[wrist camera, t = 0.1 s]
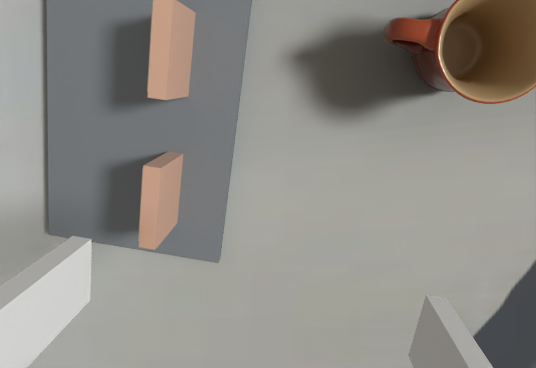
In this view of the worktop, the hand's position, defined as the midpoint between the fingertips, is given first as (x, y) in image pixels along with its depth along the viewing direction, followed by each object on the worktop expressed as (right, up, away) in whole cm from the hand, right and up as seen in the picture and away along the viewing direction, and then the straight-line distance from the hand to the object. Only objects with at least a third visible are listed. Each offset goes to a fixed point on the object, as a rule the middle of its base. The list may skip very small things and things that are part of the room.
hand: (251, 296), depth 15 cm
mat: (-13, +12, +27) cm, 32 cm away
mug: (+17, +18, +23) cm, 33 cm away
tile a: (-8, +17, +24) cm, 30 cm away
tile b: (-10, +4, +27) cm, 29 cm away
